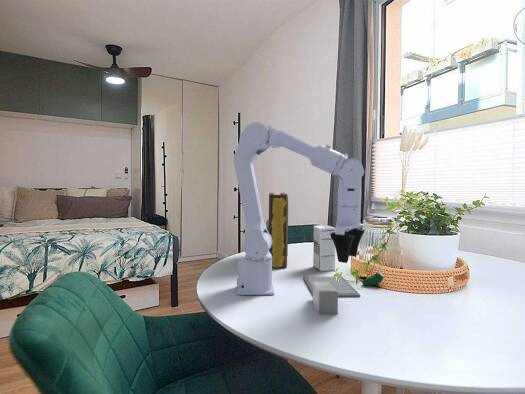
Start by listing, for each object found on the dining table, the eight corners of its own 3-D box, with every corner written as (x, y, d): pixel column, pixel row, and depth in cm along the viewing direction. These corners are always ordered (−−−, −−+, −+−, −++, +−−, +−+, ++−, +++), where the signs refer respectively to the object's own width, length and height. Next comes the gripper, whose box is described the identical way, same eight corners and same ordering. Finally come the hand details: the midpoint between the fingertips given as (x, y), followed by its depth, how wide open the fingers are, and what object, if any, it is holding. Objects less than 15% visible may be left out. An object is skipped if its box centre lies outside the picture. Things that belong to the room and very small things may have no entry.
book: (290, 268, 102) (291, 195, 100) (265, 268, 102) (266, 194, 101) (286, 253, 124) (287, 192, 123) (265, 253, 124) (266, 192, 123)
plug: (319, 314, 67) (319, 292, 66) (310, 298, 76) (310, 278, 76) (337, 314, 67) (338, 291, 67) (326, 298, 76) (326, 278, 76)
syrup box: (335, 270, 100) (336, 227, 100) (319, 271, 99) (320, 227, 98) (327, 265, 106) (328, 224, 105) (312, 266, 105) (313, 225, 104)
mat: (314, 297, 77) (314, 294, 77) (303, 278, 92) (303, 276, 92) (360, 296, 77) (360, 294, 77) (342, 278, 92) (342, 276, 92)
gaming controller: (370, 293, 85) (387, 280, 84) (361, 283, 85) (377, 269, 84) (366, 283, 94) (381, 270, 93) (357, 273, 94) (372, 261, 93)
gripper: (357, 208, 68) (355, 267, 69) (371, 205, 81) (370, 255, 81) (327, 207, 72) (326, 263, 73) (345, 204, 84) (344, 251, 85)
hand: (347, 258), depth 77 cm, fingers open, 7 cm apart
